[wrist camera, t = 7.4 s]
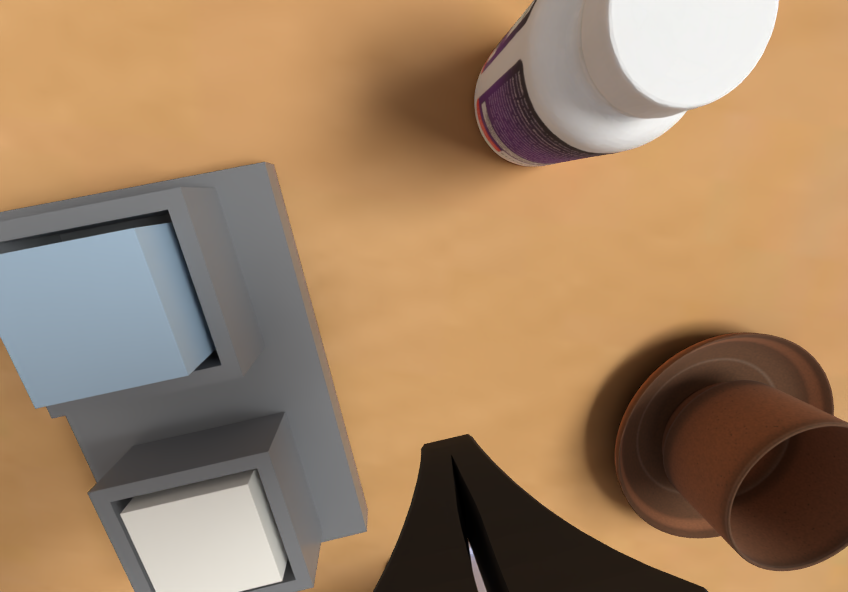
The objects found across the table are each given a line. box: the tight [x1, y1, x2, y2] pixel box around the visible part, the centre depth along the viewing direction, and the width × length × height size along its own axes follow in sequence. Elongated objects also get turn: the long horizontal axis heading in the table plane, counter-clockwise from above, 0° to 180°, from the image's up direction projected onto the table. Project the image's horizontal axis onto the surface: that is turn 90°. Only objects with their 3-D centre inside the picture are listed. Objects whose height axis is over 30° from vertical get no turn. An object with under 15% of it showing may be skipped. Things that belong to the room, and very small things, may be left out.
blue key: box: [0, 222, 216, 409], centre depth 14 cm, size 5×5×3 cm
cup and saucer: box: [615, 333, 848, 571], centre depth 21 cm, size 12×12×6 cm
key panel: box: [0, 162, 368, 592], centre depth 18 cm, size 18×11×4 cm, turn 11°
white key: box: [120, 468, 288, 592], centre depth 18 cm, size 5×5×3 cm
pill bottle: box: [474, 0, 779, 166], centre depth 14 cm, size 5×5×10 cm
